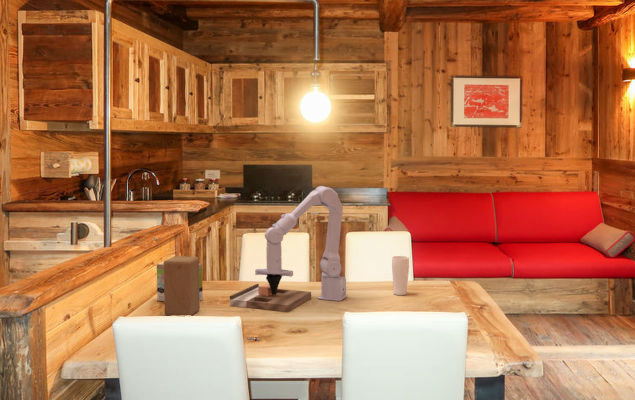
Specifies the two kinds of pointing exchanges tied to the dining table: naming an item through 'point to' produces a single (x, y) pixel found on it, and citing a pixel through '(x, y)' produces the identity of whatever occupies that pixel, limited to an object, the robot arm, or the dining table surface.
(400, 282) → the drinking glass
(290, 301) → the trap board
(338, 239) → the robot arm
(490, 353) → the dining table surface
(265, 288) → the terracotta block
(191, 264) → the wooden block
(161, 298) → the tea box
